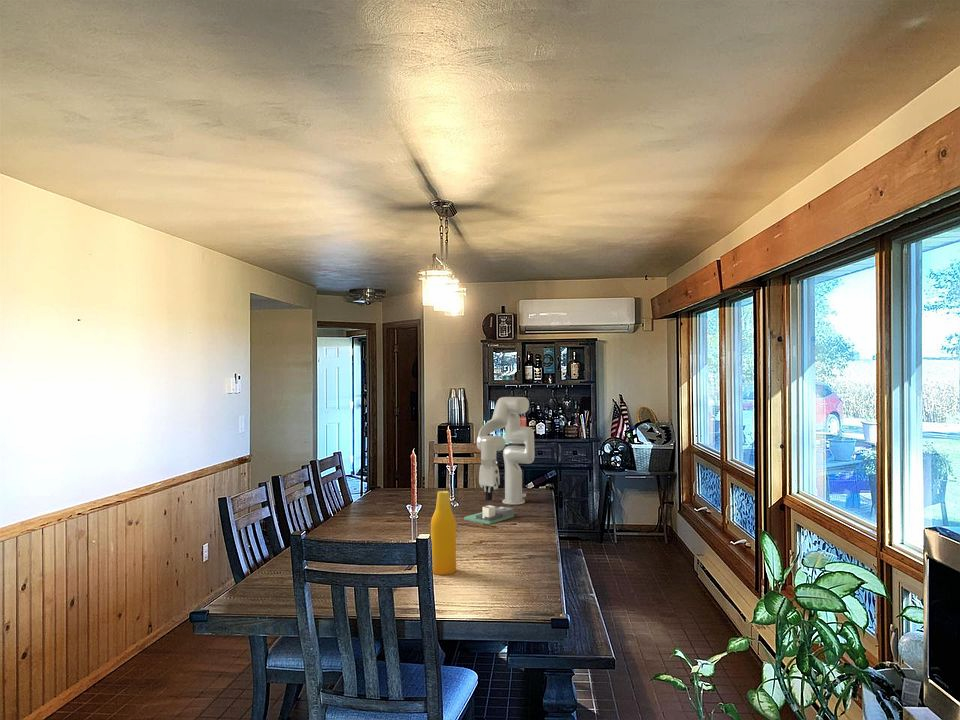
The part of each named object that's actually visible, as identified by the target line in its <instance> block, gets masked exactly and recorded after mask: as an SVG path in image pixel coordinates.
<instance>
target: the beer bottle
mask: <svg viewBox="0 0 960 720" xmlns="http://www.w3.org/2000/svg"><path fill="white" fill-rule="evenodd" d="M436 494H437V496H436V505H435V510H434V513H433V515H432V517H431V522H430V541H431V540H432V555H433V573H432V574H433V575H438V576H446V575H453V574H455V572H456V570H457V540H456V539H457V522H456V517H455V513H454V512H453V510H452V508H451V507H452V505H451V499H450V492H449V491H448V490H440V491H439V490H438V491H437V493H436Z"/></svg>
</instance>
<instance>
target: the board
mask: <svg viewBox="0 0 960 720" xmlns="http://www.w3.org/2000/svg"><path fill="white" fill-rule="evenodd" d="M479 514H483V511H481V512H477V513H474V514H469V515H467V516H464V517H463V520H465V521H471V522H475V523H480V524H486V525H491V524H495V523H499V522H501V521H505V520H508V519H511V518H514V517H515V514H514V515H511V516H507V517H502V518H499V519H495V520H492V521H486V520H484V519H482V520H481V519H476V515H479Z"/></svg>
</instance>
